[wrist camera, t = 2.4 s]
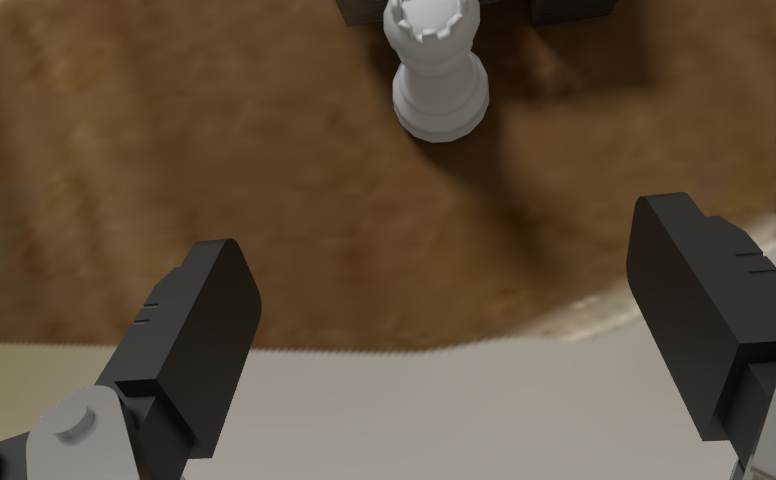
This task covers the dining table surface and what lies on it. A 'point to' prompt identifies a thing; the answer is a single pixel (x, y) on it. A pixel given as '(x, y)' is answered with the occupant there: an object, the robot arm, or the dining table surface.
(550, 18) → the gauge frame
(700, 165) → the dining table surface
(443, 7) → the rook chess piece
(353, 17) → the gauge plate
